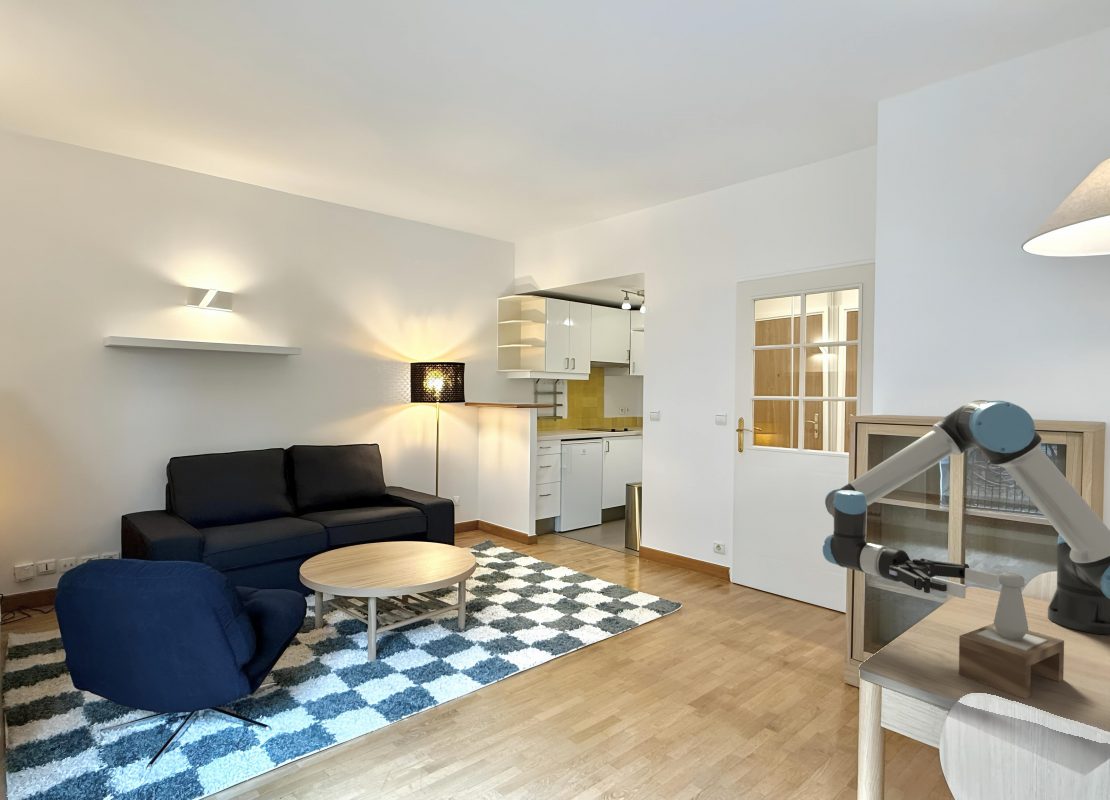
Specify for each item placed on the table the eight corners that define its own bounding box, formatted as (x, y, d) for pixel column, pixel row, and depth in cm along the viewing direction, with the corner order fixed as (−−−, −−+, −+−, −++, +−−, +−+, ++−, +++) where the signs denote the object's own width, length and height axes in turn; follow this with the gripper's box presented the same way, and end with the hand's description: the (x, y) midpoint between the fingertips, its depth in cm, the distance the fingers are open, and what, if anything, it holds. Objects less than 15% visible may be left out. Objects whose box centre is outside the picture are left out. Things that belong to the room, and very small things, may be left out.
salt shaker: (1034, 643, 126) (1035, 578, 126) (1003, 641, 127) (1004, 577, 127) (1017, 631, 132) (1018, 570, 132) (987, 630, 133) (988, 569, 133)
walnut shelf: (998, 657, 139) (998, 620, 139) (1063, 679, 129) (1064, 639, 128) (958, 673, 131) (959, 634, 131) (1024, 698, 121) (1025, 655, 120)
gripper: (915, 570, 159) (1010, 594, 141) (853, 586, 146) (949, 614, 128) (915, 540, 159) (1010, 560, 140) (854, 553, 146) (950, 578, 128)
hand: (981, 586), depth 134 cm, fingers open, 13 cm apart
